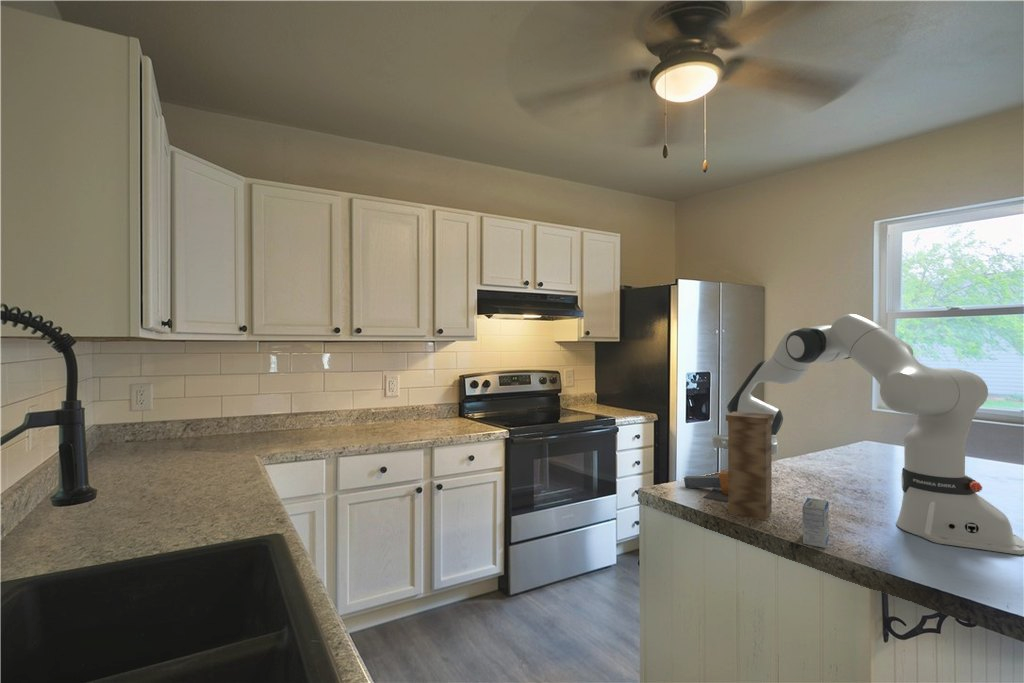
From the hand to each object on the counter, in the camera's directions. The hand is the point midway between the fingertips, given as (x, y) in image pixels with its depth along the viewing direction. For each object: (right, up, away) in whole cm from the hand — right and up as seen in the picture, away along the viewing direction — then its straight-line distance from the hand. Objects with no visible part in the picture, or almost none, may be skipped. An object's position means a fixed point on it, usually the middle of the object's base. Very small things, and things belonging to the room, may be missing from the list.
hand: (739, 448), depth 161 cm
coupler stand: (-12, -11, -31) cm, 34 cm away
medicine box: (-6, -11, -49) cm, 51 cm away
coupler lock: (-12, -8, -10) cm, 18 cm away
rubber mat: (-11, -11, -14) cm, 21 cm away
